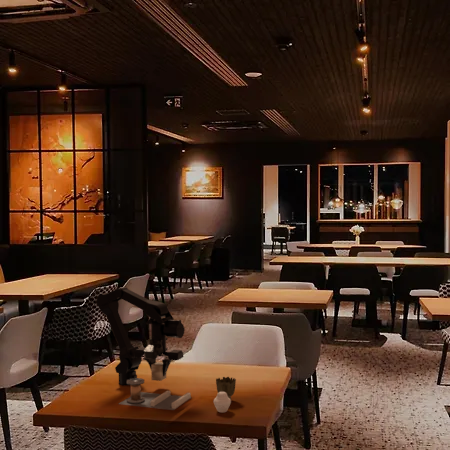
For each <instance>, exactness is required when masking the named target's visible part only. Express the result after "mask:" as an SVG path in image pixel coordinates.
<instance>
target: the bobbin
mask: <svg viewBox="0 0 450 450" xmlns="http://www.w3.org/2000/svg"><path fill="white" fill-rule="evenodd" d="M127 384H129V385H128V386H130V396H129V397H128V398H126V399H127V402H128V403H130V404H139V403H143V402H144V401H145V398H144V397H141V392H142V388H141V386H142V385H143V384H145V378H140V377H137V378H132V379H128V380H127Z"/></svg>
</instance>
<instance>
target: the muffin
mask: <svg viewBox="0 0 450 450" xmlns="http://www.w3.org/2000/svg"><path fill="white" fill-rule="evenodd" d="M212 402H213V404H214V407H215V408H216V412H219V413H226V412H228V409H229V408H230V405H231V404H232V400H230V398H229V397H228V396H227V393H226V392H219V393H218V392H217V394H216V397H215V398H213V401H212Z"/></svg>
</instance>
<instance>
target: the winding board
mask: <svg viewBox="0 0 450 450" xmlns="http://www.w3.org/2000/svg"><path fill="white" fill-rule="evenodd" d="M141 397H144V398H145V401H144V402H143V403H139V404H130V403H128V402H127V398H126V399H124V400H122V401H121V402H119V403H118V405H123V406H134V407H142V408H151V409H160V410H168V411H175V410H176V409H178V408H179V407H180V406H182V405H183V404H184V403H186V402H188V401H189V400H191V399H192V397H191V392H186V393H185V394H183V395H172V394H171V390H166V391H164V392H163V393H155V392H144V391H141Z"/></svg>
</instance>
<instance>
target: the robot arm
mask: <svg viewBox="0 0 450 450" xmlns="http://www.w3.org/2000/svg"><path fill="white" fill-rule="evenodd" d="M121 300H123V301H125V302H127V303H129V304H131V305H133V306H135V307H137V308H139V310H142V311H143V312H144V314H145V315H146V316H147V317H149V319H148V320H147V321H146V322H145V324H146V325H150V339H149V341H148V342H149V343H148V345H147V346H146V347H143V346H142V347H139V346H134V345H133V344H132V343H131V340H130V338H129V335H128V333H127V330H126V327H125V325H124V323H123V321H122V318H121V315H120V312H119V307H120V306H119V305H120V304H119V301H121ZM95 302H96V305H97V308H98V309H99V310H100V312H102V314H103V315H104V316H105V317H106V319H107V321H108V323H109V326H110V328H111V331H112V333H113V336H114V338H115V341H116V344H117V346H118V348H119V355H118V359H119V361H120V362H119V363H118V364H117V365H116V366H115V367H114V370H115V373H116V374H118V385H120V386H127V387H128V386H130V385H129V384H127V380H128V379H132V378H138V375H137V370H138V369H139V368H140V365H141V363H142V361H143V360H144V361H146V362H147V363H148V365H149V368H150V370H151V365H152V364H154V363H156V362H157V358H158V357H163V359H162V360H161V362H163V376H165V375H166V376H167V372H168V369H169V367H170V365H171V363H172V361H179V360H181V359H182V358H184V352H183V350H181V349H173V350H170V351H168V347H167V341H168V338H175V339H181V338H183V337H184V335H185V326H184V324H183V323H182V320H181V319H174V317H173V315H172V314H171V312H170V311H169V309H168V304H166V303H164V302H160V301H157V300H152V299H148V298H146V297H145V296H142V295H140V294H138V293H136V292H134V291H132V290H131V289H129V288H128V287H126V286H123V287H118V288H116V289H114V290H112V291H110V292H106V293H101V294H99V295H98V296H96V300H95ZM142 357H143V358H142Z"/></svg>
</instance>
